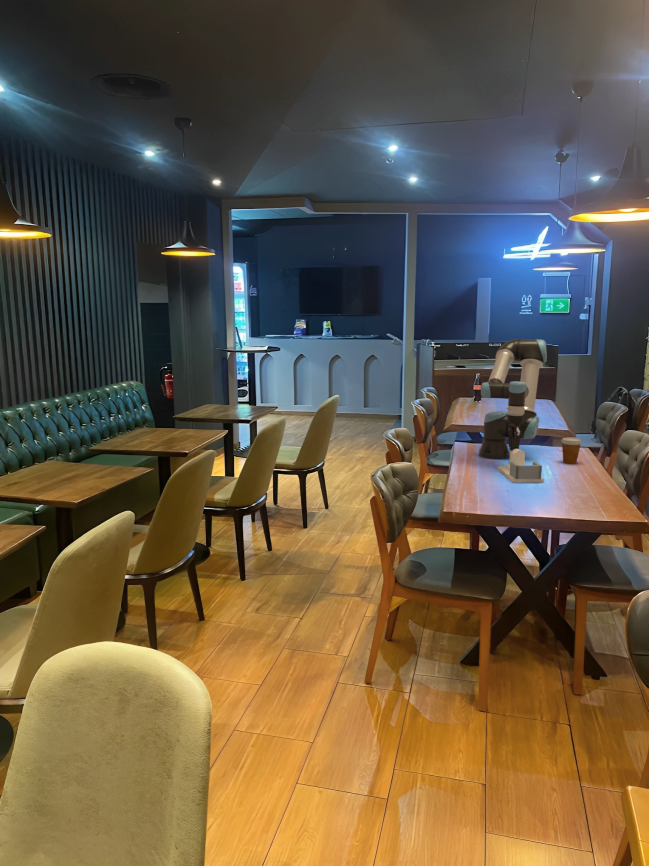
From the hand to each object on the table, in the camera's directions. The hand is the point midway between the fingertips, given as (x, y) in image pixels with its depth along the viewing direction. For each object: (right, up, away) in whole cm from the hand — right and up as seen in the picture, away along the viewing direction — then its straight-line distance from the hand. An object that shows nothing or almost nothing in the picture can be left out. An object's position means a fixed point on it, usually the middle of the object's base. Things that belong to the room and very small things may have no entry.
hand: (512, 463), depth 297 cm
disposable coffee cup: (+33, -1, +15) cm, 36 cm away
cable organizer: (0, -3, -6) cm, 7 cm away
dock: (0, -5, -10) cm, 11 cm away
